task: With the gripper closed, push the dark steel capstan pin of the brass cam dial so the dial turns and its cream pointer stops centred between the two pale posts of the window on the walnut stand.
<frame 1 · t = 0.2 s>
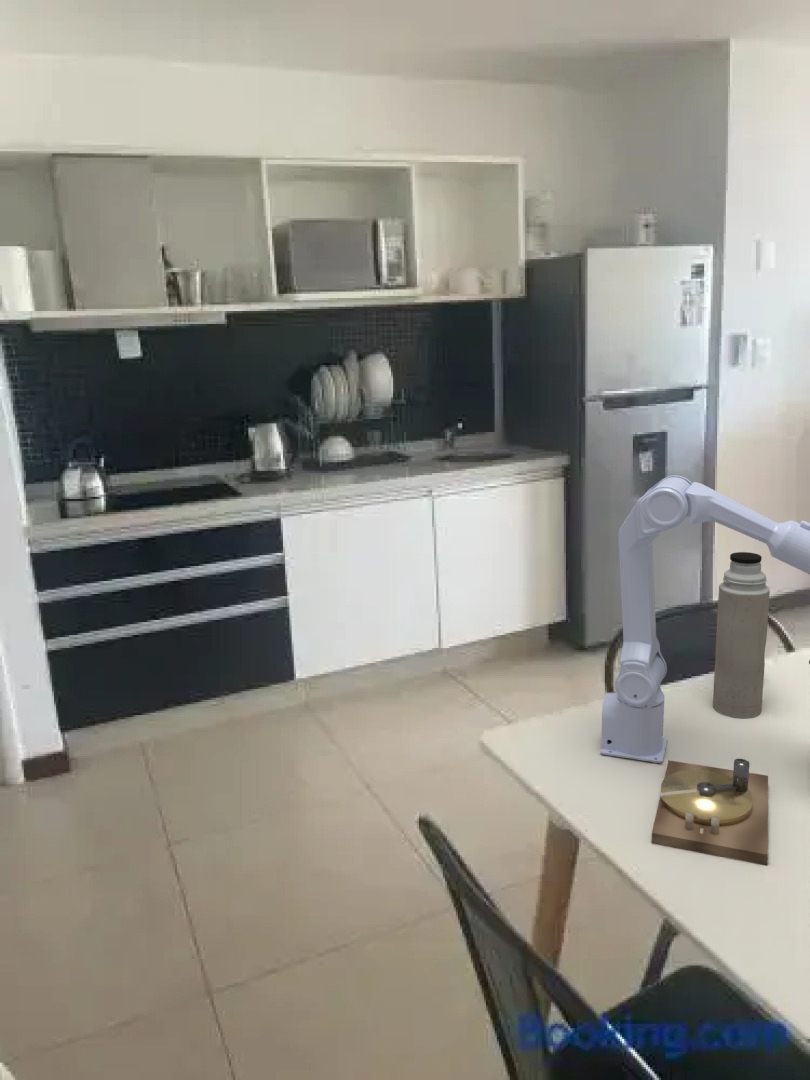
thermos bottle: (736, 709, 147), on the table
cam dial: (704, 783, 116), point 4 cm above the table, hinge at -60.0°
walnut stand: (712, 812, 116), on the table
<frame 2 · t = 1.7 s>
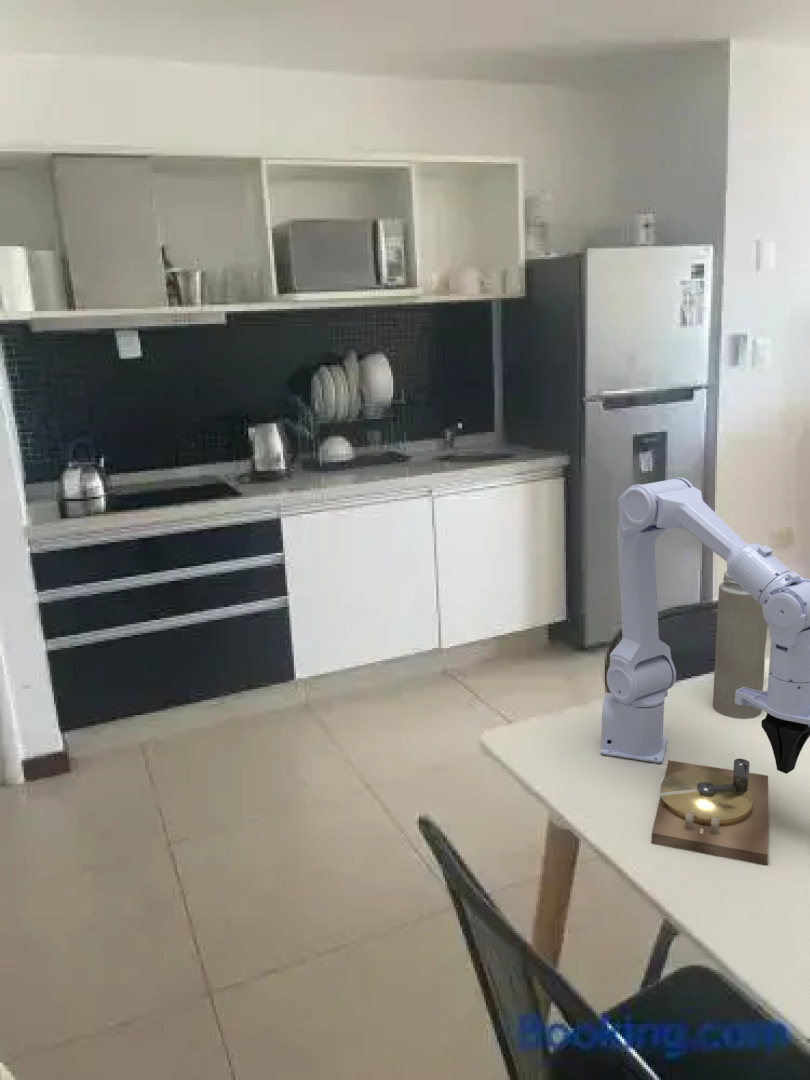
hand: (785, 769, 111), 8 cm above the table, tool pointing down, fingers closed
nothing on the table moved.
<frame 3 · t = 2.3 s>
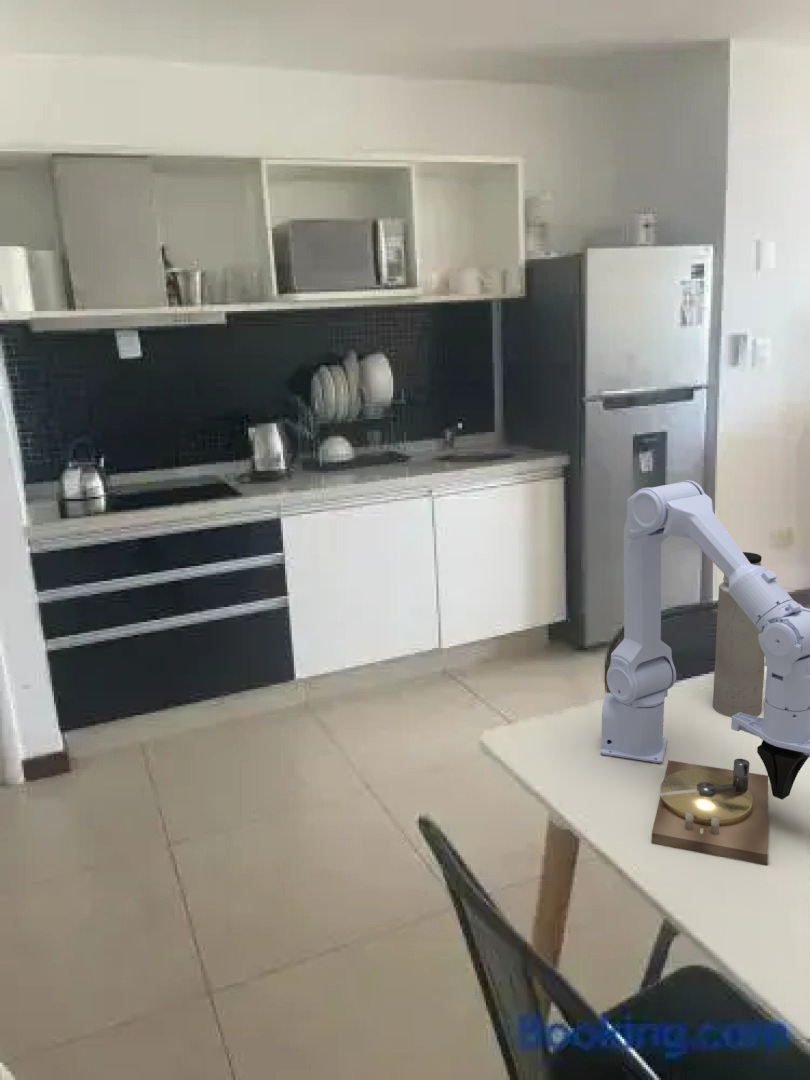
hand: (781, 795, 112), 4 cm above the table, tool pointing down, fingers closed
nothing on the table moved.
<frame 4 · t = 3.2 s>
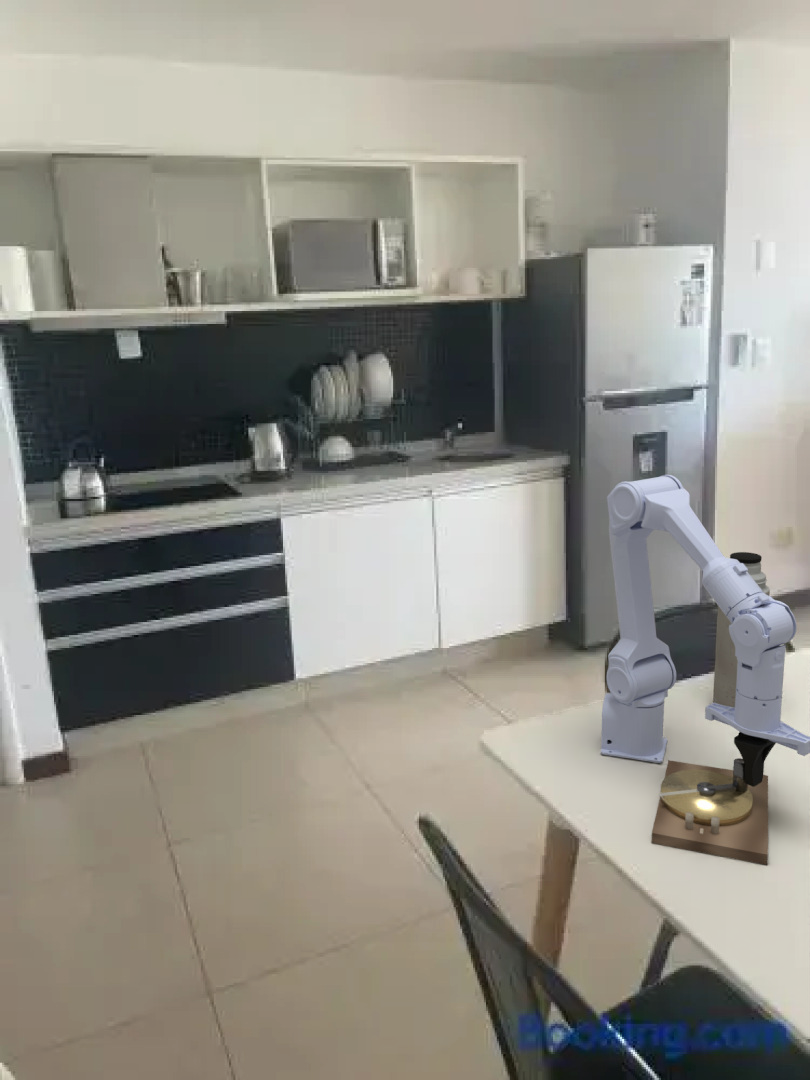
hand: (753, 782, 115), 4 cm above the table, tool pointing down, fingers closed, pressing on cam dial
cam dial: (704, 783, 116), point 4 cm above the table, hinge at -59.2°, touching gripper
everything else where it was.
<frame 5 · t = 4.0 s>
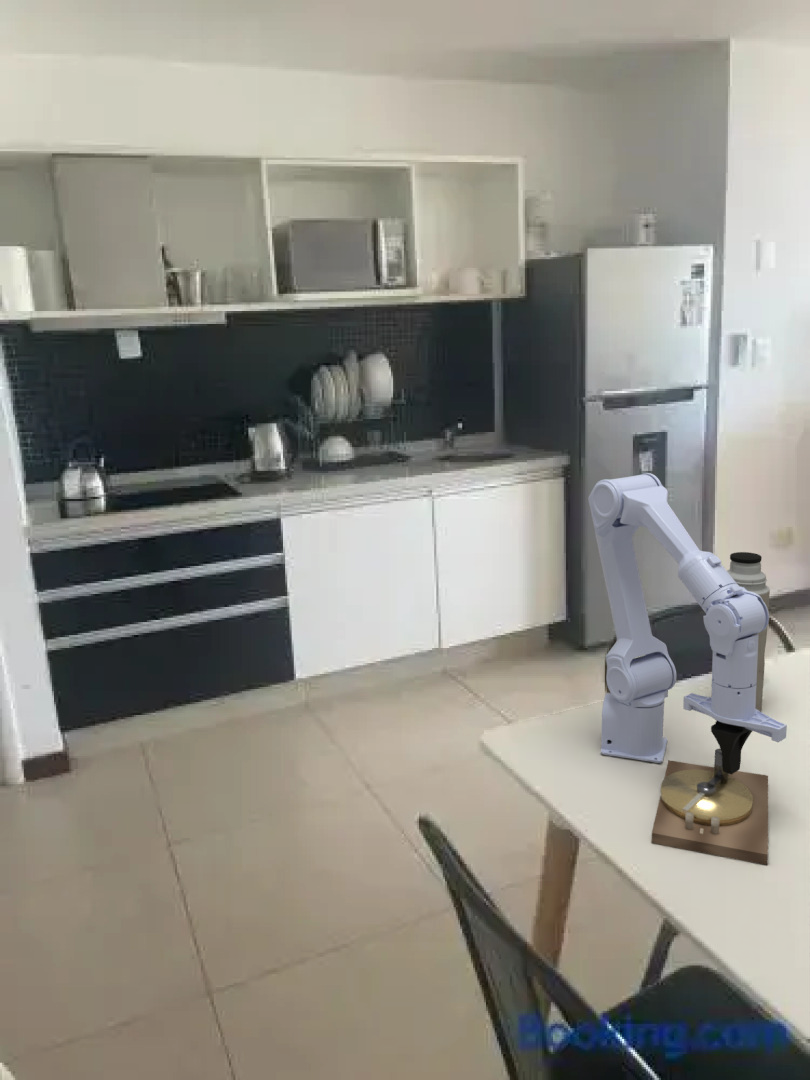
hand: (730, 770, 118), 5 cm above the table, tool pointing down, fingers closed, pressing on cam dial
cam dial: (705, 784, 116), point 4 cm above the table, hinge at -20.2°, touching gripper
everything else where it was.
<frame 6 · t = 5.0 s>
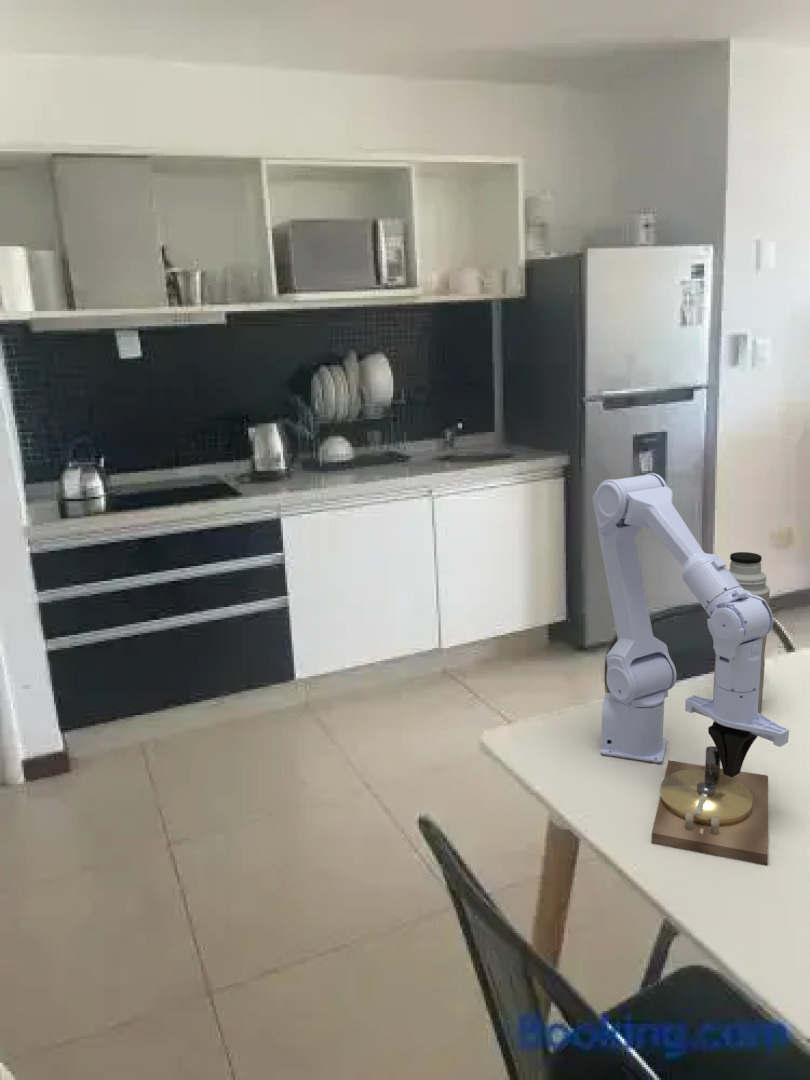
hand: (731, 773, 118), 4 cm above the table, tool pointing down, fingers closed
cam dial: (706, 784, 116), point 4 cm above the table, hinge at -6.0°
everything else where it was.
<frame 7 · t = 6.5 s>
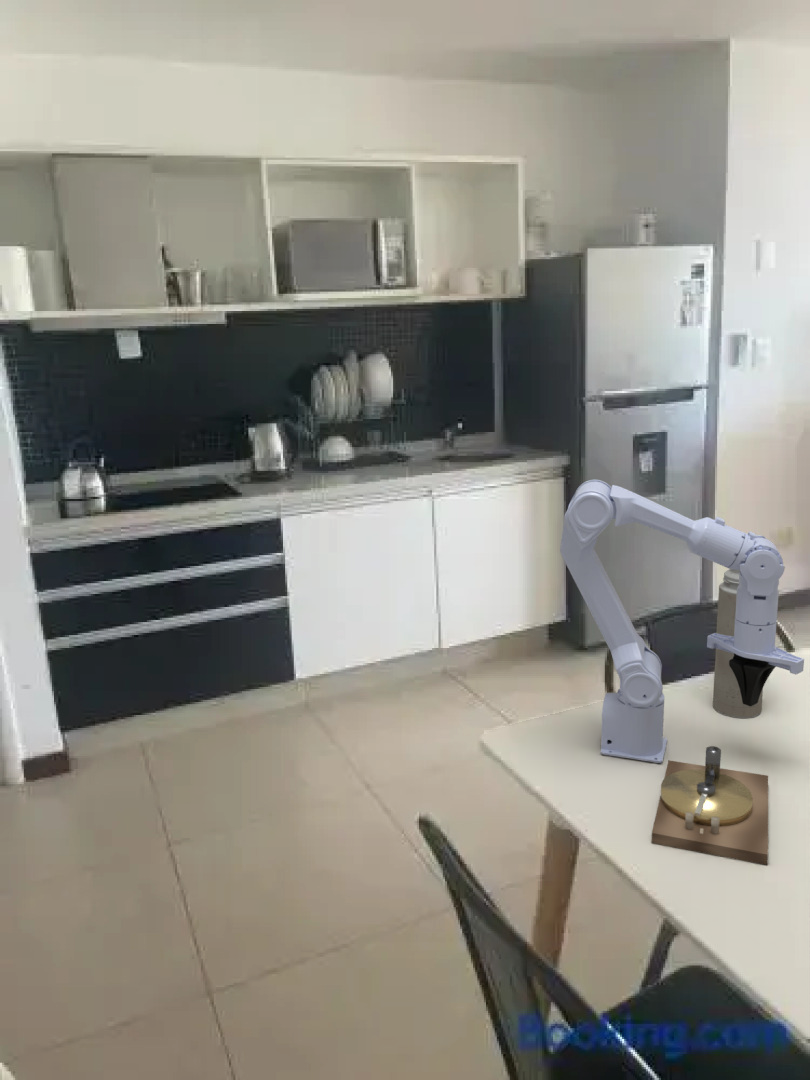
hand: (750, 703, 128), 9 cm above the table, tool pointing down, fingers closed
nothing on the table moved.
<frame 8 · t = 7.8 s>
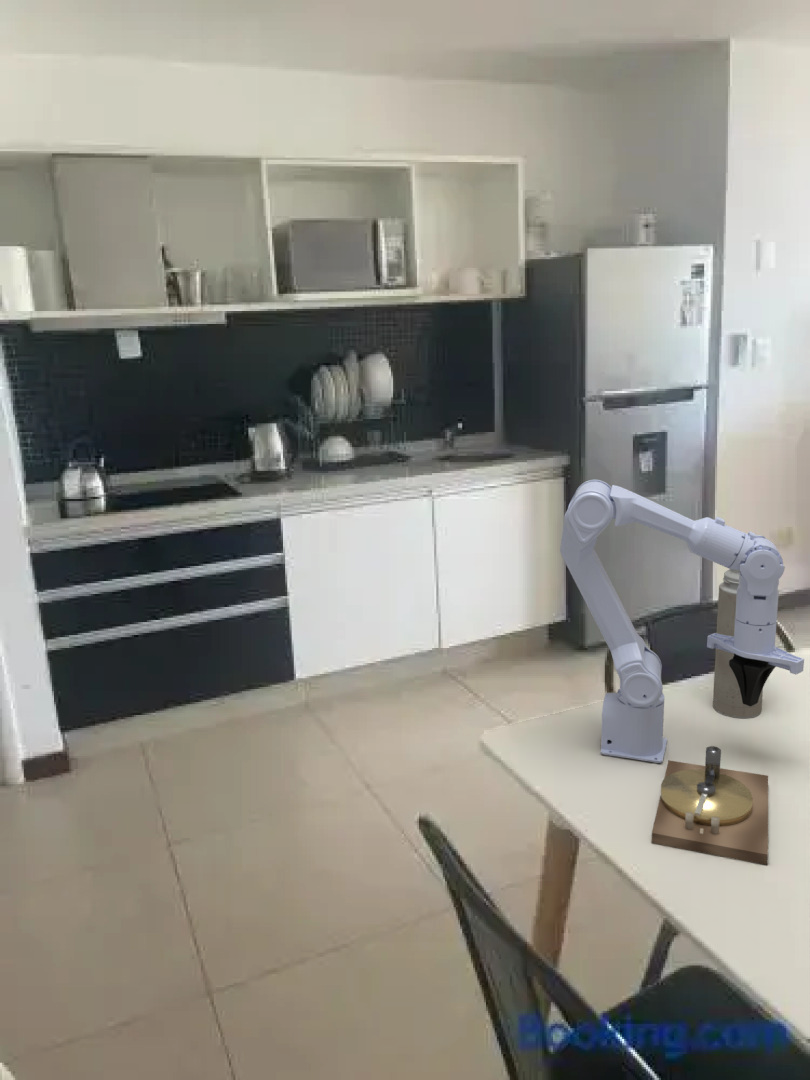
hand: (750, 703, 128), 9 cm above the table, tool pointing down, fingers closed
nothing on the table moved.
at the end: cam dial at -6° (first picture: -60°) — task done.
